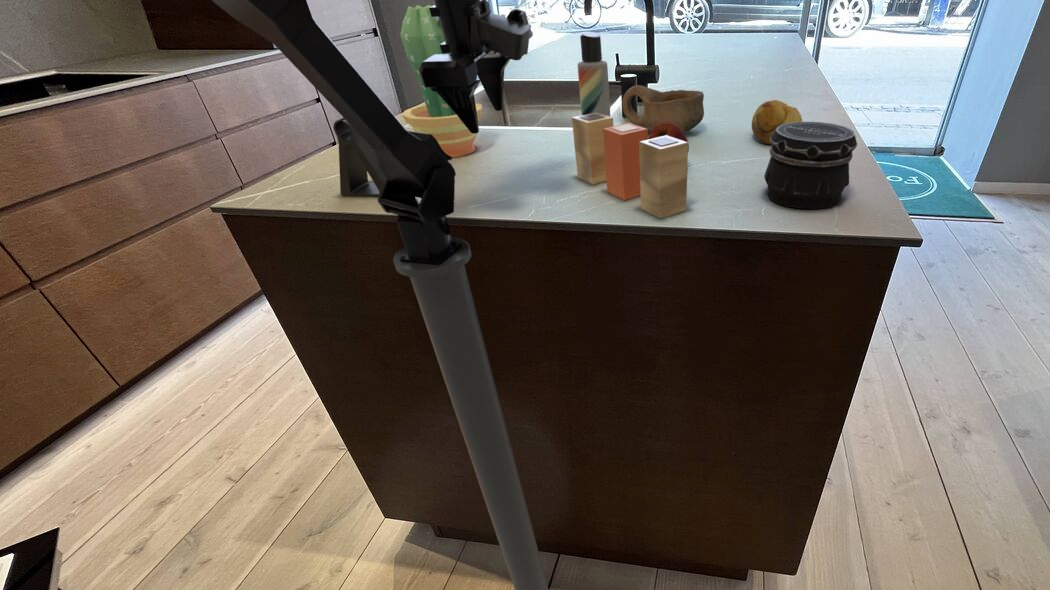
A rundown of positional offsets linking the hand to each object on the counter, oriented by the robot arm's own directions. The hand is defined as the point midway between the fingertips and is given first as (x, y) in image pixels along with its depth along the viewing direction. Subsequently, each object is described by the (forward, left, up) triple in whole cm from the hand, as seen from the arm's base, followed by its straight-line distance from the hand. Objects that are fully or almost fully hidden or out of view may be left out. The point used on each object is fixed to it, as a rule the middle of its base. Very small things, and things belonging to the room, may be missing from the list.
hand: (487, 121), depth 77 cm
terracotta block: (+8, -19, -12) cm, 24 cm away
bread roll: (+43, -41, -13) cm, 60 cm away
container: (+11, -47, -13) cm, 50 cm away
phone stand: (+2, +25, -13) cm, 28 cm away
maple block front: (+2, -26, -12) cm, 29 cm away
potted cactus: (+25, +23, -13) cm, 36 cm away
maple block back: (+14, -11, -12) cm, 22 cm away
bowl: (+45, -17, -13) cm, 49 cm away
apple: (+21, -23, -13) cm, 33 cm away
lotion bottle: (+33, -6, -13) cm, 36 cm away
